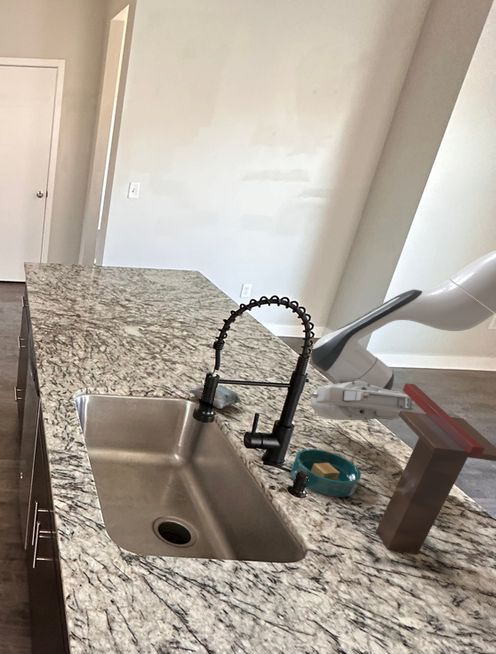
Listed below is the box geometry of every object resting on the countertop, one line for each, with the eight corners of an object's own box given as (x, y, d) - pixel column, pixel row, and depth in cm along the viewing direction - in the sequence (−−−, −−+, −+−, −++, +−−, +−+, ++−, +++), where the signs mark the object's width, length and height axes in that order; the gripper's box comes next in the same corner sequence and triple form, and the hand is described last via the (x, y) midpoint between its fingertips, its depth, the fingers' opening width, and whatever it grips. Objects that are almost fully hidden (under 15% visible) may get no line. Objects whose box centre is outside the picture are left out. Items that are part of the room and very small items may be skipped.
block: (323, 475, 120) (328, 462, 119) (334, 486, 117) (340, 472, 115) (308, 476, 120) (313, 463, 118) (319, 486, 116) (325, 473, 115)
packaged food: (220, 415, 144) (224, 399, 142) (184, 396, 153) (188, 380, 151) (240, 408, 148) (245, 392, 146) (204, 390, 157) (208, 374, 155)
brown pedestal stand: (413, 531, 106) (469, 419, 94) (446, 578, 95) (514, 458, 84) (346, 521, 108) (393, 409, 97) (371, 565, 97) (428, 446, 86)
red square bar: (411, 391, 103) (414, 384, 103) (480, 456, 84) (485, 448, 83) (402, 390, 104) (405, 383, 103) (469, 455, 84) (473, 446, 83)
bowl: (340, 471, 123) (347, 453, 121) (362, 506, 112) (370, 487, 110) (283, 463, 125) (289, 445, 123) (299, 496, 114) (306, 477, 112)
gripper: (307, 381, 124) (335, 377, 111) (405, 393, 121) (447, 390, 107) (304, 408, 124) (332, 407, 110) (403, 420, 120) (445, 421, 107)
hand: (390, 399), depth 109 cm, fingers open, 8 cm apart
